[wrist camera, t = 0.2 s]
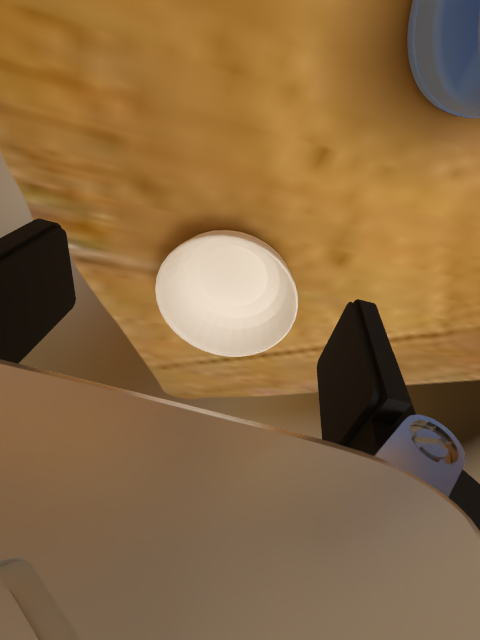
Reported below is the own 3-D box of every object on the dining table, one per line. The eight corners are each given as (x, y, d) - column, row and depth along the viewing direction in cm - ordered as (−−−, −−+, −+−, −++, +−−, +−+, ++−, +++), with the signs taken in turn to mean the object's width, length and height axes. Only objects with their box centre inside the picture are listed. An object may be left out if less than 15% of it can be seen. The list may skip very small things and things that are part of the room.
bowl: (146, 256, 46) (125, 281, 40) (252, 184, 38) (244, 202, 32) (220, 341, 54) (212, 372, 48) (320, 296, 46) (324, 327, 40)
